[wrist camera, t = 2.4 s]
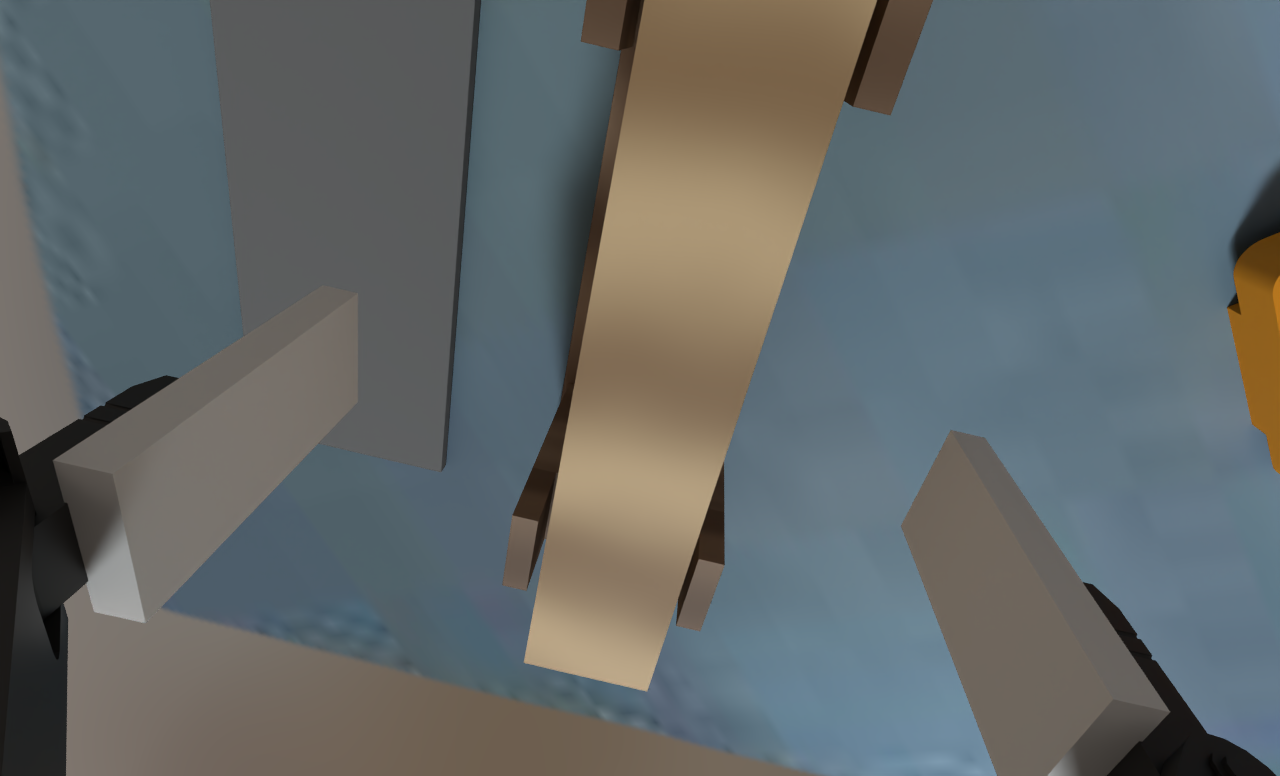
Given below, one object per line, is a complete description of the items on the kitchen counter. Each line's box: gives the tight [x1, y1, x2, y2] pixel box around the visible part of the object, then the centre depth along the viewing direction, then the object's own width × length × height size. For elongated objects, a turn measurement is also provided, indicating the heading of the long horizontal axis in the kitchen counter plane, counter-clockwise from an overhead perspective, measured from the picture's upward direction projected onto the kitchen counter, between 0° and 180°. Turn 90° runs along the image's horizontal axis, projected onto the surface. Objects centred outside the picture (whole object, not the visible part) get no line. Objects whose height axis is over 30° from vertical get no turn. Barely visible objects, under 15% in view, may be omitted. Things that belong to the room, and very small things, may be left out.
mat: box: [210, 0, 481, 472], centre depth 25 cm, size 26×9×1 cm, turn 168°
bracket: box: [502, 0, 933, 631], centre depth 21 cm, size 22×7×10 cm, turn 168°
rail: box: [524, 0, 877, 691], centre depth 17 cm, size 22×4×4 cm, turn 168°
